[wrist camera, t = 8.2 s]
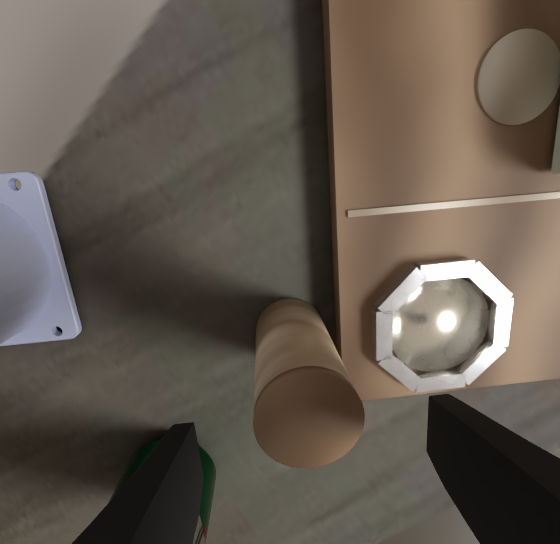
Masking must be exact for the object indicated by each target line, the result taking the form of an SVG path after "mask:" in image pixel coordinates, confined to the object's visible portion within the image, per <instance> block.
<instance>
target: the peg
mask: <svg viewBox="0 0 560 544" xmlns="http://www.w3.org/2000/svg"><path fill="white" fill-rule="evenodd" d="M364 418H365V415H364V408H363V404H362V402H361V399H360V397H359V395H358V393H357V391H356V389H355V387H354V385H353V383H352V381H351V379H350V377H349V375H348V373H347V371H346V368H345V366H344V364H343V362H342V360H341V358H340V356H339V354H338V352H337V350H336V348H335V346H334V344H333V342H332V340H331V338H330V336H329V334H328V331H327V329H326V327H325V325H324V323H323V321H322V319H321V317H320V315H319V313H318V312H317V310H316V309H315V308H314V307H313V306H312V305H310V304H309V303H307V302H305V301H303V300H300V299H296V298H285V299H281V300H278V301H275V302H273V303H272V304H270V305H269V306H267V307H266V308H265V309H264V310H263V312H262V313H261V315H260V316H259V319H258V321H257V325H256V350H255V384H254V418H253V426H254V433H255V437H256V440H257V442H258V444H259V445H260V447H261V448H262V450H263V451H264V452H265V453H266V454H267V455H268V456H269V457H271V458H272V459H274V460H275V461H277V462H279V463H281V464H284V465H287V466H290V467H296V468H314V467H320V466H323V465H327V464H329V463H331V462H334V461H336V460H337V459H339V458H341V457H342V456H344V455H345V454H346V453H347V452H348V451H349V450H350V449H351V448H352V447H353V446H354V445H355V443H356V442H357V441H358V439H359V437H360V435H361V433H362V430H363V426H364Z"/></svg>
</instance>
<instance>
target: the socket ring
mask: <svg viewBox="0 0 560 544" xmlns="http://www.w3.org/2000/svg"><path fill="white" fill-rule="evenodd" d="M461 278H466V279H467V280H468V281H469V282H468V281H466V280H463V279H461ZM482 294H483V295H484V296H485V297H486V298H487V299H488V306H487V303H486V300H485V298H484V296H483V295H482ZM511 296H512V294H511V293H510V292H509V291H508V290H507V289H506V288H505V287H504V286H503V285H502V284H501V283H500V282H499V281H498V280H497V279H496V278H495V277H494V276H493V275H492V274H491V273H490V272H489V271H488V270H487V269H486V268H485V267H484V266H483V265H482V264H481V263H480V262H479V261H476V260H473V259H470V258H457V259H446V260H436V261H426V262H415V263H414V266H413V265H410V266H409V267H408V268H407V269H406V270H405V271H404V272H403V273H402V274H401V275H400V276H399V277H398V278H397V279H396V281H395V282H394V283H393V284H392V285H391V286H390V287H389V288H388V289H387V290H386V291H385V292H384V293H383V294H382V295H381V297H380V298H379V299H378V300H377V301H376V302H375V303H374V305H375V306H376V307H374V308H372V355H373V356H374V359H375V360H376V362H377V363H378V364H379V365H380V366H381V367H383V368H384V369H385V370H386V371H388V372H389V373H390V374H391V375H393V376H394V377H395V378H396V379H398V380H399V381H400V382H401V383H403V384H404V385H405V386H407V387H408V388H409V389H410V390H412V391H414V390H415V391H416V393H417V392H426V391H435V390H443V389H452V388H461V387H465V383H466V384H468V385H470V384H471V383H472V382H473V381H474V380H475V379H476V378H477V377H478V376H479V375H480V374H481V373H482V372H483V371H484V370H485V369H487V368H488V367H489V366H490V365H491V364H492V363H493V362H494V361H495V360H496V359H497V358H498V357H499V356H500V355H501V354H502V353H503V352H505V351H506V349H505V348H504V347H507V346H508V343H509V334H510V325H511V317H512V308H513V299H514V298H512V297H511ZM484 336H485V339H484ZM483 339H484V340H483ZM482 340H483V341H482ZM392 350H393V351H394V353H395V354H396V356H397V357H396V356H395V355H394V354H393V353H392ZM456 365H457V366H456ZM409 366H410V367H412V368H414V369H417V370H421V371H420V372H415V371H414V370H412V369H411V368H410V367H409ZM454 366H456V367H455V368H452V367H454Z"/></svg>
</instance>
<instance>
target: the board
mask: <svg viewBox="0 0 560 544" xmlns="http://www.w3.org/2000/svg"><path fill="white" fill-rule="evenodd" d="M322 11H323V36H324V60H325V84H326V109H327V133H328V158H329V182H330V207H331V231H332V255H333V280H334V304H335V329H336V350H337V352H338V354H339V356H340V358H341V360H342V362H343V364H344V366H345V368H346V371H347V373H348V375H349V377H350V379H351V381H352V383H353V385H354V387H355V389H356V391H357V393H358V395H359V397H360V399H361V401H365V400H373V399H382V398H391V397H400V396H408V395H417V394H426V393H435V392H444V391H452V390H461V389H470V388H479V387H487V386H496V385H505V384H514V383H522V382H531V381H540V380H549V379H557V378H560V173H556V174H551V168H552V160H553V153H554V145H555V138H556V130H557V122H558V115H559V107H560V0H322ZM457 258H470V259H473V260H476V261H479V262H480V263H481V264H482V265H483V266H484V267H485V268H486V269H487V270H488V271H489V272H490V273H491V274H492V275H493V276H494V277H495V278H496V279H497V280H498V281H499V282H500V283H501V284H502V285H503V286H504V287H505V288H506V289H507V290H508V291H509V292H510V293H511V294H512V296H511V297H512V298H514V299H513V308H512V317H511V325H510V334H509V343H508V346H507V347H504V348H505V349H506V351H505V352H503V353H502V354H501V355H500V356H499V357H498V358H497V359H496V360H495V361H494V362H493V363H492V364H491V365H490V366H489V367H488V368H487V369H485V370H484V371H483V372H482V373H481V374H480V375H479V376H478V377H477V378H476V379H475V380H474V381H473V382H472V383H471V384H470V385H468V384H466V383H465V387H461V388H452V389H443V390H435V391H426V392H417V393H416V391H415V390H414V391H412V390H410V389H409V388H408V387H407V386H405V385H404V384H403V383H401V382H400V381H399V380H398V379H396V378H395V377H394V376H393V375H391V374H390V373H389V372H388V371H386V370H385V369H384V368H383V367H381V366H380V365H379V364H378V363H377V362H376V360H375V359H374V356H373V355H372V308H374V307H376V306H375V305H374V303H375V302H376V301H377V300H378V299H379V298H380V297H381V295H382V294H383V293H384V292H385V291H386V290H387V289H388V288H389V287H390V286H391V285H392V284H393V283H394V282H395V281H396V279H397V278H398V277H399V276H400V275H401V274H402V273H403V272H404V271H405V270H406V269H407V268H408V267H409V266H410V265H413V266H414V263H415V262H426V261H436V260H446V259H457ZM461 279H463V280H466V281H468V280H467V279H466V278H461ZM468 282H469V281H468ZM482 295H483V294H482ZM483 296H484V295H483ZM484 298H485V300H486V303H487V306H488V299H487V298H486V297H485V296H484ZM484 339H485V336H484ZM484 339H483V340H484ZM483 340H482V341H483ZM392 353H393V354H394V355H395V356H396V354H395V353H394V351H393V350H392ZM396 357H397V356H396ZM456 366H457V365H456ZM456 366H454V367H452V368H455V367H456ZM409 367H410V366H409ZM410 368H411V369H412V370H414V371H415V372H420V371H421V370H417V369H414V368H412V367H410Z"/></svg>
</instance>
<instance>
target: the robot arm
mask: <svg viewBox="0 0 560 544" xmlns="http://www.w3.org/2000/svg"><path fill="white" fill-rule="evenodd" d="M16 180H19V181H20V183H21V188H20V189H17V187H16V186H15V181H16ZM56 327H60V328H61V329H62V331H63V332H62V333H61V332H59V331H58V330H57V328H56ZM81 330H82V326H81V322H80V319H79V315H78V311H77V307H76V303H75V300H74V296H73V292H72V288H71V285H70V281H69V277H68V273H67V270H66V266H65V262H64V258H63V254H62V251H61V247H60V243H59V239H58V236H57V232H56V228H55V224H54V221H53V217H52V213H51V209H50V205H49V202H48V198H47V194H46V190H45V187H44V183H43V181H42V179H41V178H40V176H39V175H37V174H35V173H33V172H13V173H0V346H7V345H17V344H26V343H36V342H46V341H56V340H65V339H72V338H75V337H76V336H77V335H78V334H80V333H81ZM427 453H428V455H429V457H430V459H431V461H432V463H433V465H434V468H435V470H436V472H437V474H438V476H439V478H440V479H441V481H442V483H443V485H444V487H445V489H446V491H447V492H448V494H449V495H450V497H451V499H452V500H453V502H454V503H455V505H456V507H457V508H458V509H459V511H460V513H461V515H462V516H463V518H464V519H465V521H466V522H467V524H468V526H469V527H470V529H471V530H472V532H473V533H474V535H475V537H476V538H477V540H478V541H479V543H480V544H560V458H558V457H556V456H554V455H552V454H550V453H549V452H547V451H545V450H543V449H542V448H540V447H538V446H536V445H534V444H533V443H531V442H529V441H528V440H526V439H524V438H522V437H521V436H519V435H517V434H515V433H514V432H512V431H510V430H509V429H507V428H505V427H504V426H502V425H500V424H499V423H497V422H495V421H494V420H492V419H490V418H489V417H487V416H485V415H484V414H482V413H480V412H479V411H477V410H475V409H474V408H472V407H470V406H469V405H467V404H465V403H464V402H462V401H460V400H458V399H457V398H455V397H453V396H451V395H449V394H443V395H434V396H429V407H428V430H427ZM203 479H204V476H203V470H202V465H201V459H200V454H199V448H198V443H197V437H196V431H195V426H194V422H192V423H183V424H174V425H173V426H172V427H171V428H170V429H169V430H168V432H167V433H166V434H165V435H164V437H163V438H162V439H161V440H160V442H159V443H158V444H157V445H156V447H155V448H154V449H153V451H152V452H151V453H150V454H149V456H148V457H147V458H146V459H145V461H144V462H143V463H142V464H141V466H140V467H139V468H138V469H137V470H136V472H135V473H134V474H133V475H132V476H131V478H130V479H129V480H128V481H127V482H126V484H125V485H124V486H123V487H122V488H121V490H120V491H119V492H118V493H117V494H116V495H115V497H114V498H113V499H112V500H111V501H110V502H109V503H108V504H107V506H106V507H105V508H104V509H103V510H102V511H101V512H100V513H99V515H98V516H97V517H96V518H95V519H94V520H93V521H92V522H91V524H90V525H89V526H88V527H87V528H86V529H85V530H84V531H83V532H82V533H81V534H80V535H79V536H78V537H77V539H76V540H75V541H74V542H73V543H72V544H193V540H194V536H195V531H196V527H197V522H198V518H199V511H200V504H201V496H202V488H203Z"/></svg>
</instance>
